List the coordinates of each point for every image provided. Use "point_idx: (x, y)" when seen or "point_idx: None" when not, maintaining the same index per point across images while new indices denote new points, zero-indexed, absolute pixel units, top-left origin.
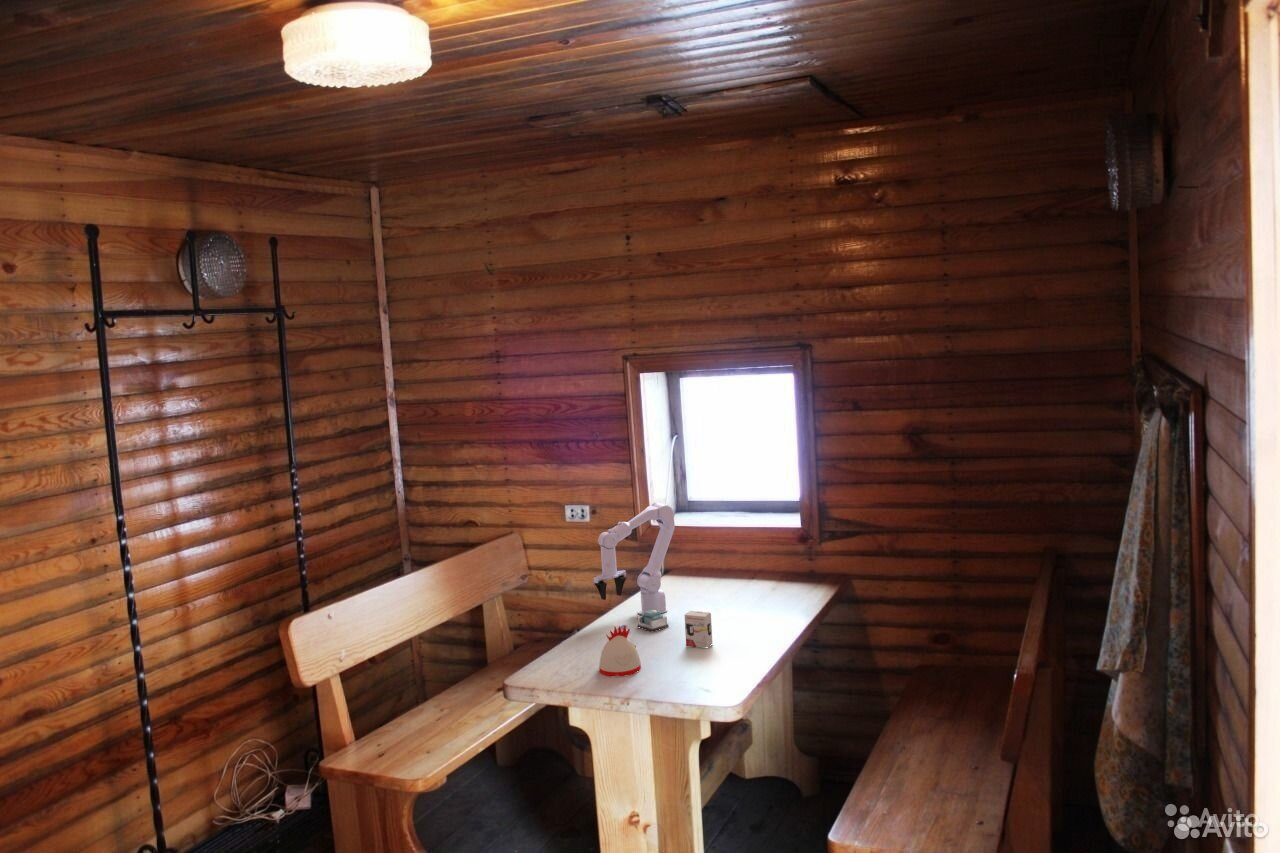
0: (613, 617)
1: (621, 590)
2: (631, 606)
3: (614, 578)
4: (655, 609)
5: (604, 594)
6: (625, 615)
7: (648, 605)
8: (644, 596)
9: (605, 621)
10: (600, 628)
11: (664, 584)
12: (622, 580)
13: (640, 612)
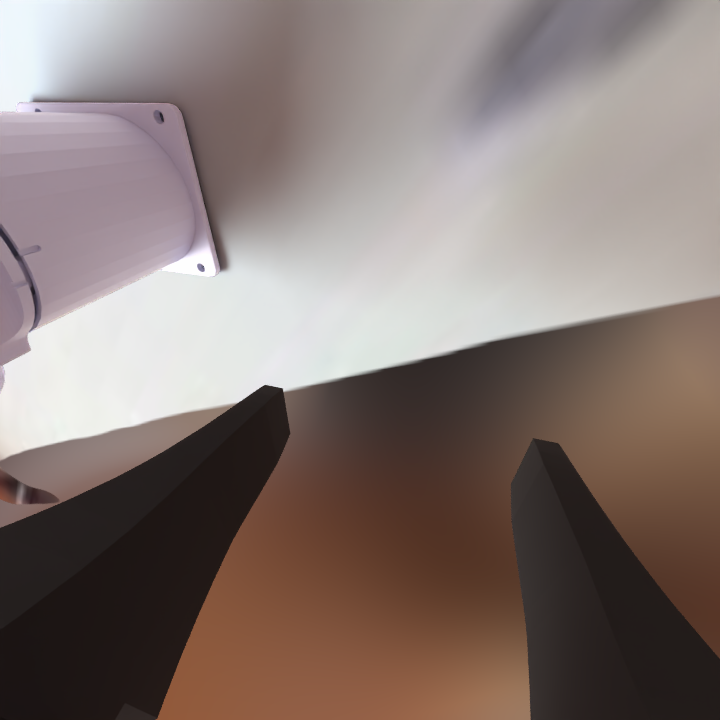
0: (371, 347)
1: (222, 423)
2: (195, 386)
3: (154, 697)
4: (78, 113)
5: (602, 522)
6: (295, 312)
7: (96, 156)
8: (34, 212)
9: (469, 334)
10: (683, 231)
11: (21, 435)
12: (10, 598)
13: (200, 252)
